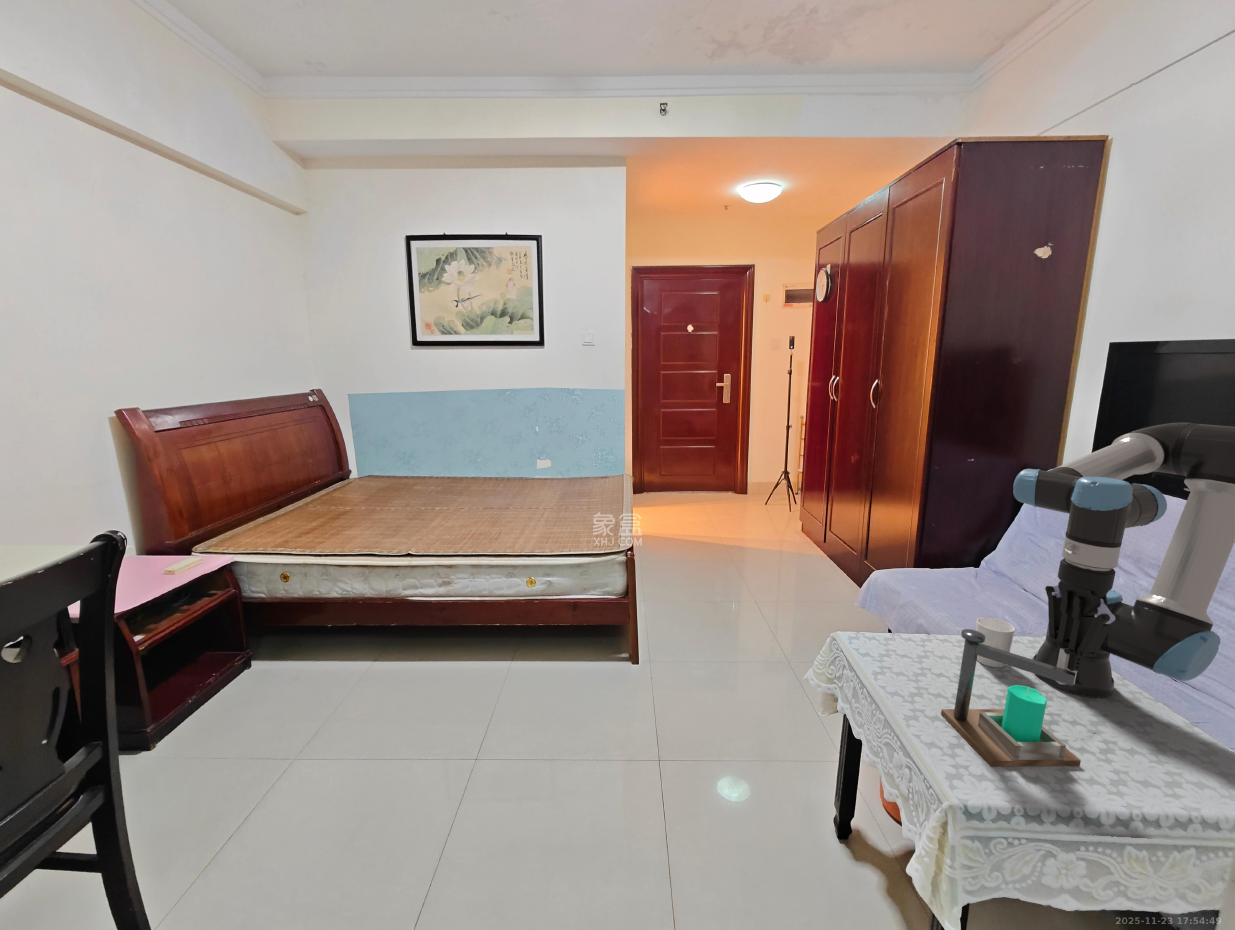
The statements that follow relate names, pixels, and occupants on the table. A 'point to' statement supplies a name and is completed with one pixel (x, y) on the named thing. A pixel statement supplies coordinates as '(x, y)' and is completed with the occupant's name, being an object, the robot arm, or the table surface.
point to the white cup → (995, 637)
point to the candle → (1024, 713)
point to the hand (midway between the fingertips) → (1064, 681)
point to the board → (1008, 741)
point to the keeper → (1017, 661)
